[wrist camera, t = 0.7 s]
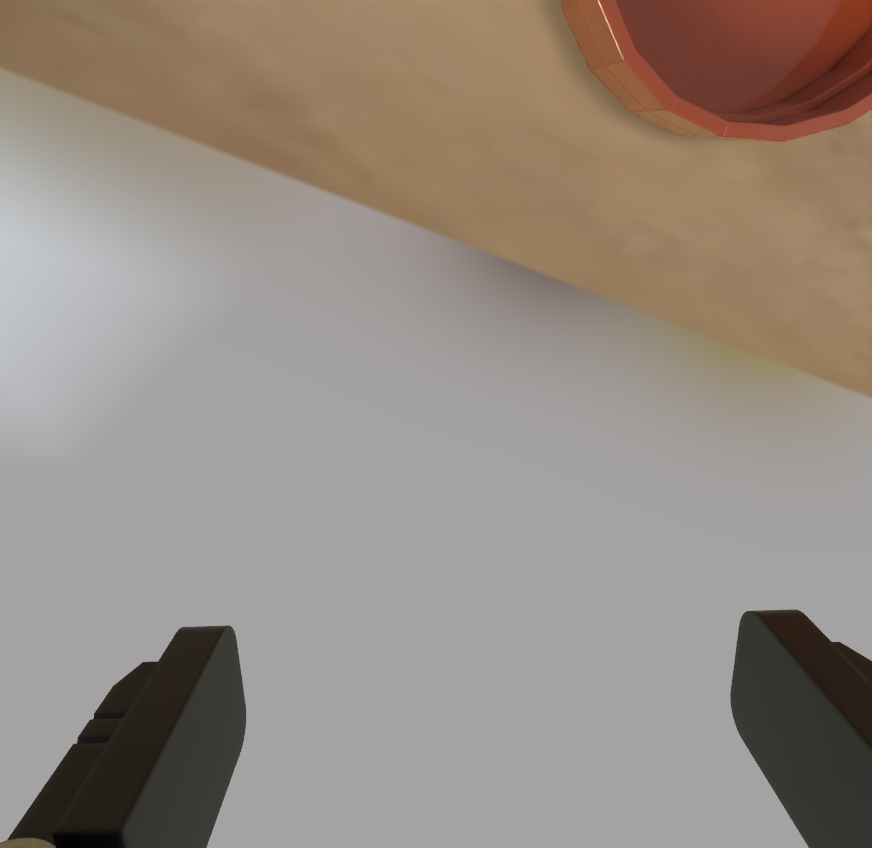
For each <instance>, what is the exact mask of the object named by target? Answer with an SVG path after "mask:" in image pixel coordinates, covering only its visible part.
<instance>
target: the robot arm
mask: <svg viewBox="0 0 872 848" xmlns="http://www.w3.org/2000/svg"><path fill="white" fill-rule="evenodd" d="M731 708H732V713H733V718H734V721H735V724H736V727H737V730H738V732H739V734H740V736H741V738H742V739H743V741H744V743H745V744H746V746H747V748H748V749H749V751H750V753H751V754H752V756H753V757H754V759H755V761H756V762H757V764H758V766H759V767H760V769H761V770H762V772H763V774H764V775H765V777H766V779H767V780H768V782H769V783H770V785H771V787H772V788H773V790H774V791H775V793H776V795H777V796H778V798H779V800H780V801H781V803H782V804H783V806H784V808H785V809H786V811H787V813H788V814H789V816H790V818H791V819H792V820H793V822H794V824H795V826H796V827H797V829H798V831H799V832H800V834H801V835H802V837H803V838H804V840H805V842H806V844H807V845H808V847H809V848H872V661H871V660H869V659H867V658H866V657H864V656H862V655H860V654H859V653H857V652H855V651H854V650H852V649H850V648H849V647H847V646H845V645H844V644H842V643H840V642H831V641H830V640H829V639H828V638H827V637H826V636H825V635H824V634H823V633H822V632H821V631H820V630H819V629H818V628H817V627H816V626H815V625H814V624H813V623H812V621H811V620H810V619H808V617H807V616H806V615H805V614H803V613H802V612H801V611H799V610H770V611H768V610H767V611H747V612H745V613H744V614H743V616H742V618H741V620H740V625H739V633H738V640H737V647H736V655H735V664H734V670H733V679H732V686H731ZM245 727H246V705H245V699H244V691H243V683H242V676H241V669H240V663H239V655H238V648H237V641H236V635H235V632H234V630H233V628H232V627H231V626H205V627H182V628H180V629H179V630H178V631H177V633H176V634H175V636H174V637H173V639H172V641H171V642H170V644H169V645H168V647H167V649H166V650H165V652H164V653H163V655H162V657H161V658H160V660H159V661H158V662H143V663H141V664H140V665H139V666H138V667H137V668H136V669H134V670H133V671H132V672H130V673H129V674H128V675H127V676H125V677H124V678H123V679H122V680H120V681H119V682H118V683H117V684H116V685H114V686H113V687H112V689H111V690H110V692H109V693H108V695H107V696H106V697H105V699H104V700H103V702H102V703H101V705H100V706H99V708H98V709H97V711H96V712H95V713H94V719H93V720H90V721H89V722H88V724H87V725H86V727H85V728H84V730H83V731H82V732H81V734H80V735H79V737H78V742H77V744H73V745H72V747H71V748H70V750H69V751H68V753H67V754H66V756H65V757H64V758H63V760H62V761H61V763H60V764H59V766H58V767H57V769H56V770H55V772H54V773H53V775H52V776H51V777H50V779H49V780H48V782H47V783H46V784H45V786H44V788H43V789H42V791H41V792H40V793H39V795H38V796H37V798H36V799H35V800H34V802H33V803H32V805H31V806H30V808H29V809H28V811H27V812H26V814H25V815H24V817H23V818H22V819H21V821H20V822H19V824H18V825H17V827H16V828H15V830H14V831H13V832H12V834H11V835H10V837H9V838H8V840H7V841H4V842H1V843H0V848H206V847H207V844H208V841H209V838H210V836H211V833H212V830H213V827H214V824H215V822H216V819H217V816H218V813H219V811H220V808H221V805H222V802H223V799H224V797H225V794H226V791H227V788H228V786H229V783H230V780H231V777H232V774H233V772H234V769H235V766H236V763H237V760H238V758H239V755H240V752H241V749H242V745H243V741H244V735H245Z"/></svg>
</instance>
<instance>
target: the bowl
mask: <svg viewBox="0 0 872 848" xmlns="http://www.w3.org/2000/svg"><path fill="white" fill-rule="evenodd" d="M561 3H562V9H563V12H564V14H565V16H566V19H567V21H568V23H569V25H570V28H571V30H572V32H573V34H574V37H575V39H576V41H577V43H578V46H579V48H580V50H581V52H582V54H583V57H584V59H585V61H586V63H587V66H588V68H589V69H590V70H591V72H592V73H593V74H594V75H595V76H596V77H597V78H598V79H599V80H600V81H601V82H602V83H603V84H604V86H605V87H606V88H607V89H608V90H609V91H610V92H611V93H612V94H613V95H614V96H615V97H616V98H617V99H618V101H619V102H620V103H621V104H622V105H623V106H624V107H625V108H626V109H627V110H628V111H629V112H631V113H633V114H635V115H637V116H639V117H641V118H643V119H645V120H647V121H649V122H651V123H653V124H655V125H657V126H659V127H662V128H664V129H666V130H668V131H670V132H672V133H674V134H677V135H683V136H696V137H710V138H723V139H739V140H758V141H777V142H782V141H788V140H792V139H795V138H799V137H803V136H807V135H810V134H814V133H818V132H821V131H825V130H829V129H832V128H836V127H840V126H843V125H846V124H849V123H850V122H852V121H854V120H855V119H857V118H858V117H860V116H862V115H863V114H865V113H867V112H868V111H870V110H872V0H561Z"/></svg>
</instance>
